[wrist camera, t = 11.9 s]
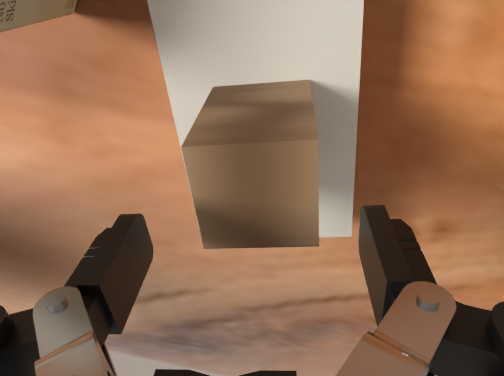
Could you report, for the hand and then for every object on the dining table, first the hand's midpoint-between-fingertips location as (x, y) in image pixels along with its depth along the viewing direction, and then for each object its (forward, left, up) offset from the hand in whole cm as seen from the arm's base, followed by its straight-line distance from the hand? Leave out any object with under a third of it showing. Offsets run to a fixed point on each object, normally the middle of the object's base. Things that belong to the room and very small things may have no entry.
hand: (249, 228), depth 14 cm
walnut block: (0, 0, -8) cm, 8 cm away
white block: (0, 0, -12) cm, 12 cm away
